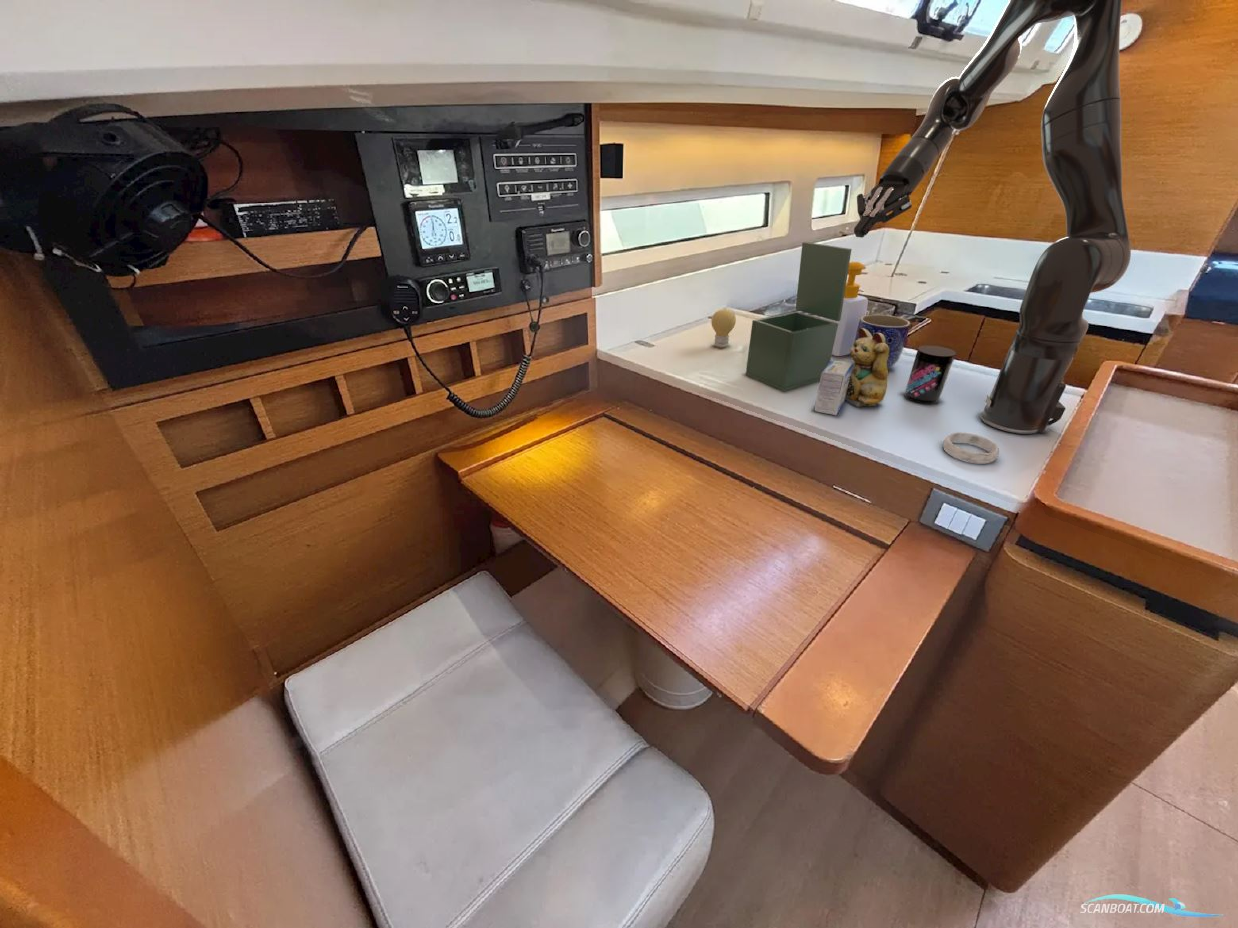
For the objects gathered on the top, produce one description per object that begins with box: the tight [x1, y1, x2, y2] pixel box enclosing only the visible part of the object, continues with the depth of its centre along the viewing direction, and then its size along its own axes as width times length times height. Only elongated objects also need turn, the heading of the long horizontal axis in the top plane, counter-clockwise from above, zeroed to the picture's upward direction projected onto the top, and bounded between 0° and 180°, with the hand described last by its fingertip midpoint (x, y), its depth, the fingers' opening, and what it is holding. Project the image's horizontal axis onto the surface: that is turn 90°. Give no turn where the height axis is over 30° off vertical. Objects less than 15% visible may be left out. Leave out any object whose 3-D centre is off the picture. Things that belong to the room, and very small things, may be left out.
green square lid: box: [794, 241, 852, 321], centre depth 109 cm, size 15×12×1 cm
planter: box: [854, 314, 911, 370], centre depth 120 cm, size 11×11×11 cm
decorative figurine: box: [845, 328, 889, 408], centre depth 101 cm, size 10×8×15 cm
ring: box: [942, 432, 1000, 465], centre depth 86 cm, size 8×8×2 cm
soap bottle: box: [819, 261, 869, 357], centre depth 129 cm, size 10×14×22 cm
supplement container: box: [904, 345, 957, 405], centre depth 103 cm, size 7×7×10 cm
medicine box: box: [814, 359, 853, 416], centre depth 101 cm, size 8×4×9 cm, turn 148°
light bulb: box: [710, 308, 737, 349], centre depth 134 cm, size 6×6×10 cm
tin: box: [745, 310, 838, 392], centre depth 114 cm, size 14×12×13 cm
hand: (858, 234), depth 108 cm, fingers closed
